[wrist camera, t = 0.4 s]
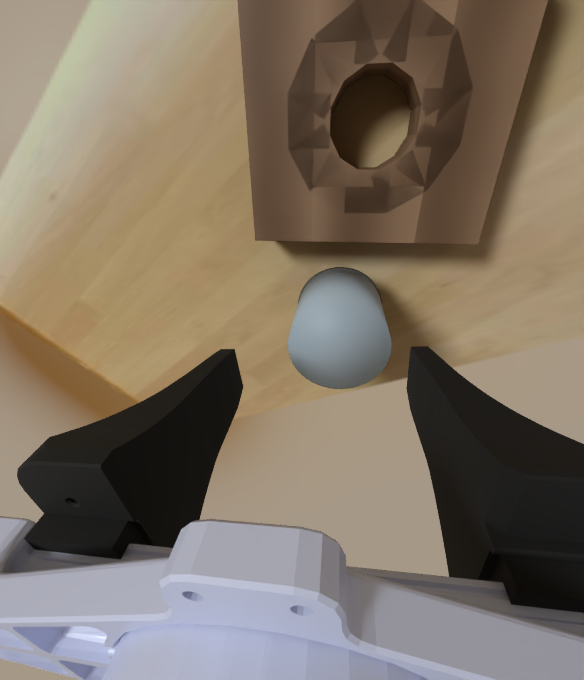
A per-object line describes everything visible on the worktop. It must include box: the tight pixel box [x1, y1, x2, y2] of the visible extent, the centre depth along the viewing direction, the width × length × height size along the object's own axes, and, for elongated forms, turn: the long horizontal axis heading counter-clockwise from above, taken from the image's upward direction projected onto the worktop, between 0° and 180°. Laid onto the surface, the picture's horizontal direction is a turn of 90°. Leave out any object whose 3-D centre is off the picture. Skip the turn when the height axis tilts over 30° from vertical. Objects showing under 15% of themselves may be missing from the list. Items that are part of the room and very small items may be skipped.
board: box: [238, 0, 548, 244], centre depth 15 cm, size 12×11×2 cm
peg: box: [288, 267, 392, 389], centre depth 18 cm, size 5×5×7 cm
